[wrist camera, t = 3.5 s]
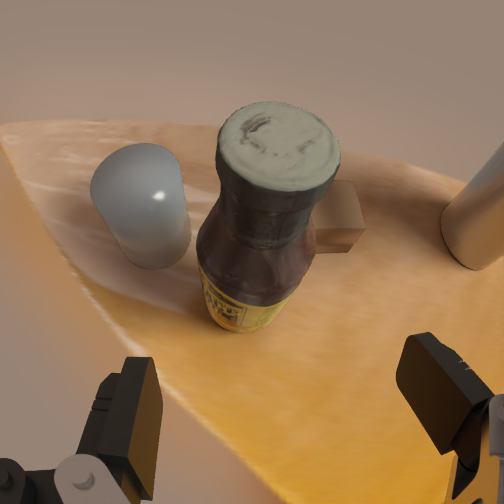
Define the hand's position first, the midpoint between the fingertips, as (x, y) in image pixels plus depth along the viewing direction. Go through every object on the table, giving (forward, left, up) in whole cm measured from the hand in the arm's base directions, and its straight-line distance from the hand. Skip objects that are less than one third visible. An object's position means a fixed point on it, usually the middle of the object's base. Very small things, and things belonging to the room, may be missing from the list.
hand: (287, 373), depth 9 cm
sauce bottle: (0, -7, -17) cm, 19 cm away
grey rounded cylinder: (+8, -14, -17) cm, 24 cm away
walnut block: (-8, -14, -17) cm, 24 cm away
